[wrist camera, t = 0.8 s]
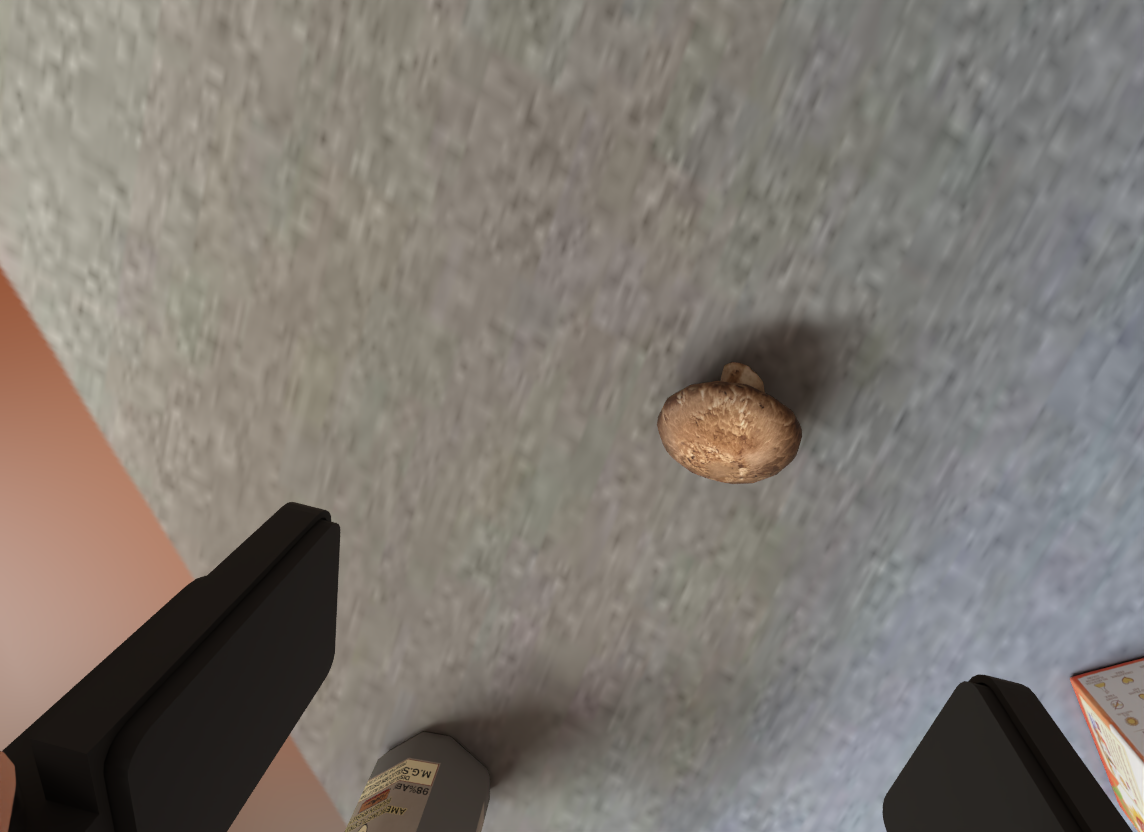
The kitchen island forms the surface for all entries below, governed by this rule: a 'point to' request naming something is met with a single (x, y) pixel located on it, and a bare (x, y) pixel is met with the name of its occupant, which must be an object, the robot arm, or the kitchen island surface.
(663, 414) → the mushroom
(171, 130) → the kitchen island surface
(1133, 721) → the cracker box
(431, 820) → the liquor
